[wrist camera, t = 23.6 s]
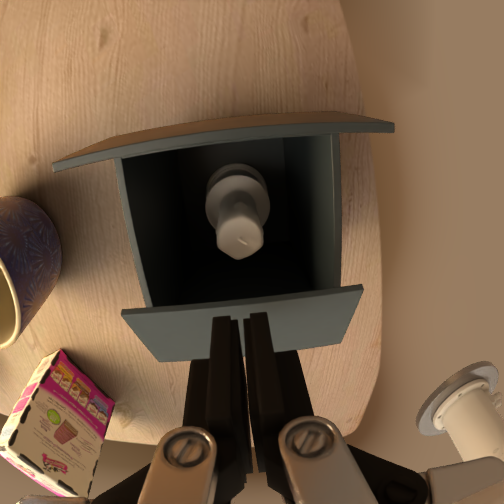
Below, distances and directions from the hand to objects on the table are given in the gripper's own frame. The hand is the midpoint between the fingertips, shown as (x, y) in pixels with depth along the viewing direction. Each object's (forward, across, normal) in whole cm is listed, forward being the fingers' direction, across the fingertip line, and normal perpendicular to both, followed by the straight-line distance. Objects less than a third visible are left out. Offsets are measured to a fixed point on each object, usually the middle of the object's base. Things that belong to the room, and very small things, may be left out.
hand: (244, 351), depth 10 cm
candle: (+20, 0, -1) cm, 20 cm away
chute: (+20, 0, -1) cm, 20 cm away
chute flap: (+4, 0, +2) cm, 4 cm away
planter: (+20, +23, +1) cm, 30 cm away
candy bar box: (+20, +24, +21) cm, 38 cm away
